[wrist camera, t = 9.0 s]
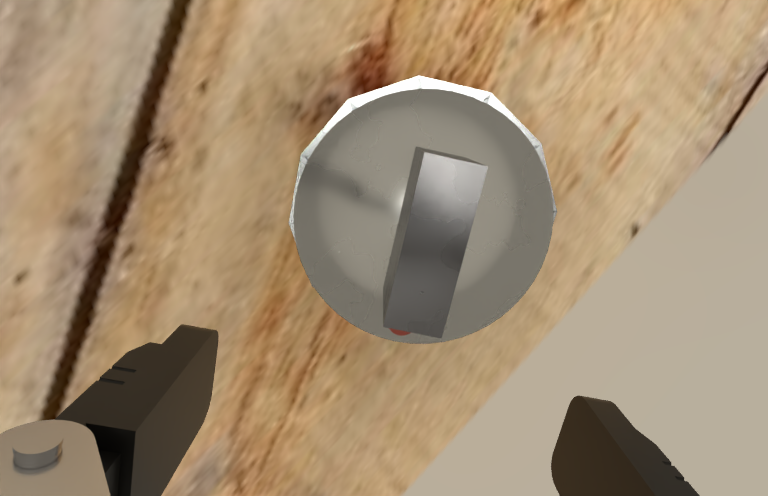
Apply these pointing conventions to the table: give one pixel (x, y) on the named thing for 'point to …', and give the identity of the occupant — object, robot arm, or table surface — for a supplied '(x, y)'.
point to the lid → (423, 216)
